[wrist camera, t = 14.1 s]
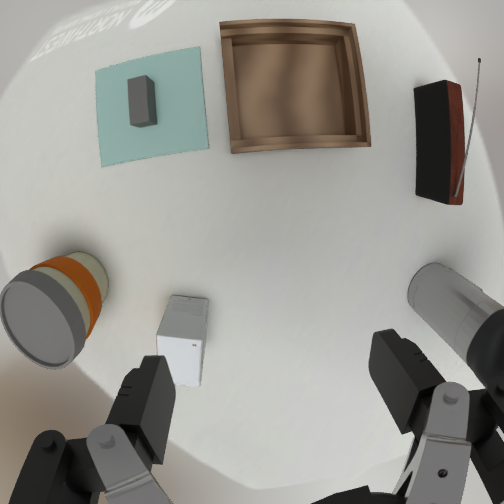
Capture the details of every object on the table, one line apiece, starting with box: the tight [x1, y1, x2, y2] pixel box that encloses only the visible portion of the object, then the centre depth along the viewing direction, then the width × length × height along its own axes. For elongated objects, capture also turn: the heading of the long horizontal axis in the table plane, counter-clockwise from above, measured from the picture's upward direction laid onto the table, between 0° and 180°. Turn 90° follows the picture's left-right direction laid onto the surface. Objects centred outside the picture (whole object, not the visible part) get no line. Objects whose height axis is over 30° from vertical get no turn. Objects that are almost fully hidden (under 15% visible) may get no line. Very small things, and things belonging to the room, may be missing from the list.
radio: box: [414, 58, 481, 205], centre depth 29 cm, size 19×3×15 cm, turn 2°
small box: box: [156, 295, 208, 387], centre depth 39 cm, size 8×6×10 cm
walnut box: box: [219, 19, 371, 154], centre depth 31 cm, size 16×16×6 cm
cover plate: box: [95, 47, 209, 167], centre depth 32 cm, size 15×14×5 cm
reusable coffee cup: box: [0, 252, 108, 370], centre depth 34 cm, size 13×13×15 cm
